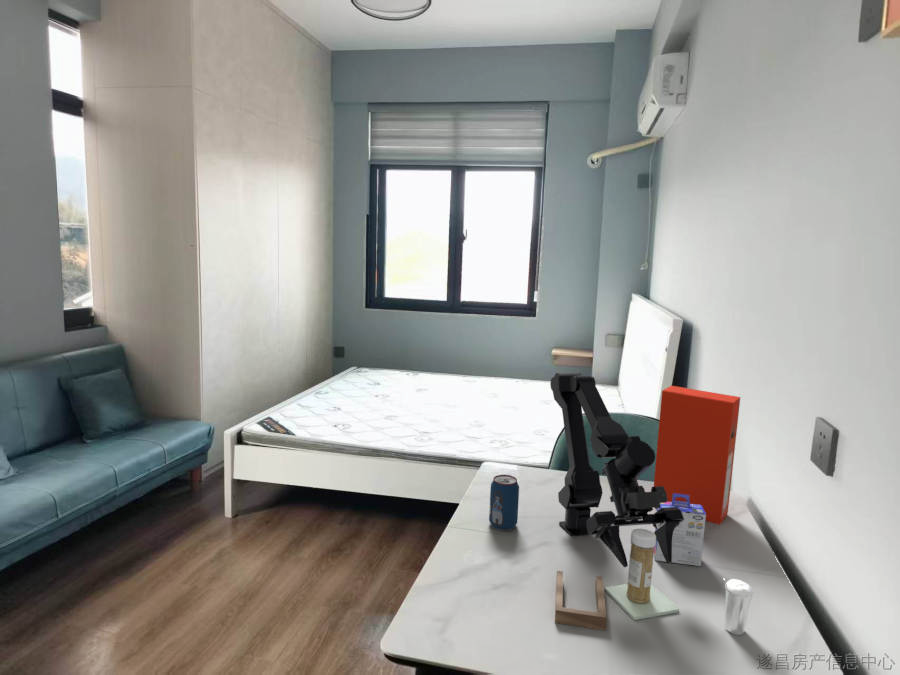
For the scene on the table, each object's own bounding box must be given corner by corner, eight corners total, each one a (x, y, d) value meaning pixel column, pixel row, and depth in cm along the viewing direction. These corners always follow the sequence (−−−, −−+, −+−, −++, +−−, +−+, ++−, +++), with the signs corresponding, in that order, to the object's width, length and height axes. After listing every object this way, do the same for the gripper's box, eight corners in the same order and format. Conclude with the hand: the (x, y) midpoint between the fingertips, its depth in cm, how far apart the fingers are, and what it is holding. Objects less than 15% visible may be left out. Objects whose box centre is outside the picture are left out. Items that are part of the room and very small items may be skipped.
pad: (604, 590, 119) (604, 587, 119) (646, 583, 122) (646, 580, 122) (634, 620, 110) (634, 617, 109) (678, 611, 113) (679, 608, 113)
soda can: (515, 519, 149) (518, 474, 147) (518, 532, 142) (520, 485, 140) (488, 518, 149) (490, 473, 147) (489, 531, 142) (491, 484, 140)
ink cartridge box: (697, 554, 134) (703, 494, 132) (702, 567, 129) (709, 504, 127) (651, 549, 136) (657, 489, 134) (655, 561, 131) (660, 499, 129)
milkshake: (711, 621, 110) (717, 572, 108) (738, 621, 110) (744, 571, 109) (724, 637, 105) (730, 586, 104) (753, 637, 106) (759, 585, 104)
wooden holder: (556, 581, 121) (557, 570, 121) (601, 588, 120) (602, 576, 119) (554, 622, 108) (555, 610, 108) (605, 630, 106) (606, 617, 106)
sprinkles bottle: (653, 604, 114) (660, 538, 112) (631, 604, 113) (637, 539, 111) (643, 590, 118) (650, 527, 116) (622, 591, 118) (627, 527, 116)
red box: (719, 525, 149) (733, 402, 144) (651, 505, 160) (662, 390, 155) (727, 515, 156) (740, 396, 151) (661, 496, 166) (671, 385, 161)
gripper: (596, 473, 114) (619, 556, 105) (683, 469, 118) (713, 548, 109) (577, 495, 123) (596, 573, 114) (658, 490, 127) (683, 565, 118)
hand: (648, 564), depth 113 cm, fingers open, 9 cm apart
